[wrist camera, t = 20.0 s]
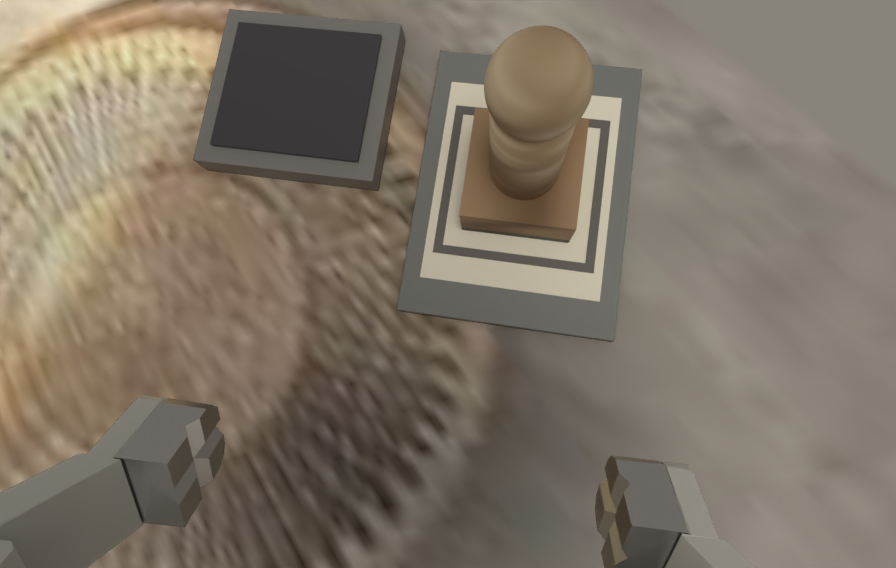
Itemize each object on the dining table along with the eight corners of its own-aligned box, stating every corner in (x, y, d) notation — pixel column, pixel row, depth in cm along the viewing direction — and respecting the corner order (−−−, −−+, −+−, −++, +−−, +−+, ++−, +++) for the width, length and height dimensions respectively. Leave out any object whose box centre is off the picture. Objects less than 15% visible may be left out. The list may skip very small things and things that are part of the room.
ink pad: (207, 170, 32) (190, 157, 31) (241, 25, 34) (226, 5, 32) (378, 190, 31) (371, 179, 29) (405, 40, 33) (400, 20, 31)
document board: (399, 311, 30) (396, 309, 29) (441, 58, 32) (440, 49, 31) (610, 341, 29) (615, 340, 28) (638, 77, 31) (643, 67, 30)
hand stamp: (461, 229, 30) (441, 127, 17) (476, 131, 30) (466, -33, 18) (568, 243, 29) (626, 147, 17) (580, 142, 30) (643, -21, 17)
